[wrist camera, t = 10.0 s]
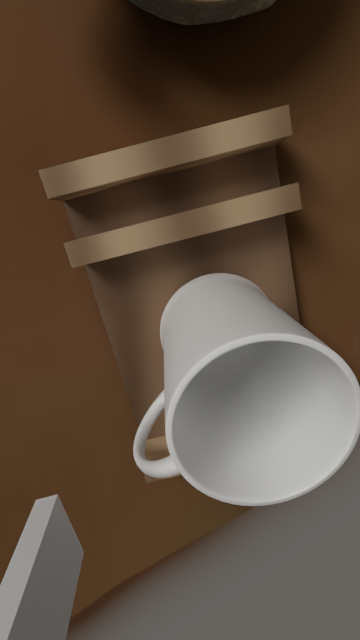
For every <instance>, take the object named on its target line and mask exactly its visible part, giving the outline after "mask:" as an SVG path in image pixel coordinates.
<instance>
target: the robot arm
mask: <svg viewBox="0 0 360 640" xmlns="http://www.w3.org/2000/svg"><path fill="white" fill-rule="evenodd" d="M83 554H84V551H83V549H82V547H81V545H80V542H79V540H78V538H77V536H76V534H75V531H74V529H73V527H72V525H71V523H70V520H69V518H68V516H67V514H66V512H65V509H64V507H63V505H62V503H61V501H60V499H59V496H58V494H57V495H54V496H50V497H46V498H42V499H38V500H36V501H35V504H34V506H33V508H32V511H31V513H30V516H29V518H28V520H27V523H26V525H25V528H24V530H23V532H22V535H21V537H20V540H19V542H18V544H17V547H16V549H15V552H14V554H13V556H12V559H11V561H10V564H9V566H8V568H7V571H6V573H5V575H4V578H3V580H2V583H1V585H0V640H65V639H66V634H67V630H68V625H69V620H70V616H71V611H72V606H73V601H74V597H75V592H76V587H77V582H78V578H79V573H80V568H81V563H82V558H83Z"/></svg>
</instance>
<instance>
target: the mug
mask: <svg viewBox="0 0 360 640" xmlns="http://www.w3.org/2000/svg"><path fill="white" fill-rule="evenodd" d="M160 339H161V344H162V348H163V350H164V390H163V391H162V392H161V393H160V395H159V396H158V397H157V398H156V400H155V401H154V402H153V403H152V405H151V406H150V408H149V409H148V411H147V412H146V414H145V416H144V417H143V419H142V421H141V423H140V425H139V428H138V430H137V433H136V436H135V440H134V446H133V454H134V459H135V462H136V464H137V466H138V467H139V468H140V470H141V471H142V472H144V473H145V474H146V475H148V476H151V477H154V478H167V477H171V476H175V475H178V474H180V473H181V474H182V476H183V477H184V478H185V479H186V480H187V481H188V482H189V483H190V484H191V485H192V486H194V487H195V488H196V489H198V490H199V491H201V492H202V493H204V494H206V495H208V496H210V497H212V498H214V499H217V500H220V501H223V502H226V503H230V504H235V505H243V506H263V505H272V504H277V503H282V502H285V501H289V500H292V499H294V498H297V497H299V496H301V495H304V494H306V493H308V492H310V491H311V490H313V489H315V488H317V487H318V486H319V485H321V484H322V483H324V482H325V481H326V480H328V479H329V478H330V477H331V476H332V475H333V474H334V473H335V472H336V471H337V470H338V469H339V468H340V467H341V466H342V465H343V463H344V462H345V461H346V460H347V458H348V457H349V455H350V454H351V452H352V450H353V448H354V447H355V444H356V442H357V440H358V437H359V434H360V386H359V384H358V381H357V379H356V377H355V375H354V373H353V372H352V370H351V369H350V367H349V366H348V365H347V363H346V362H345V361H344V360H343V359H342V358H341V357H340V356H339V355H338V354H337V353H336V352H334V351H333V350H332V349H331V348H329V347H328V346H327V345H326V344H324V343H323V342H322V341H321V340H319V339H318V338H317V337H316V336H314V335H313V334H312V333H311V332H309V331H308V330H307V329H305V328H304V327H303V326H302V325H300V324H299V323H298V322H297V321H295V320H294V319H293V318H292V317H290V316H289V315H288V314H286V313H285V312H284V311H283V310H281V309H280V308H279V307H278V306H276V305H275V304H274V303H273V302H271V301H270V300H269V299H268V297H267V296H266V294H265V293H264V292H263V291H262V290H261V289H260V288H259V287H258V286H257V285H256V284H254V283H253V282H251V281H250V280H248V279H246V278H244V277H241V276H238V275H234V274H229V273H212V274H207V275H203V276H200V277H197V278H195V279H193V280H191V281H189V282H188V283H186V284H185V285H183V286H182V287H181V288H180V289H179V290H177V291H176V293H175V294H174V295H173V296H172V297H171V299H170V300H169V302H168V303H167V305H166V307H165V309H164V312H163V314H162V318H161V323H160ZM164 408H165V434H166V442H167V446H168V450H169V453H170V456H168V457H166V458H163V459H160V460H156V461H149V460H147V459H146V457H145V446H146V441H147V438H148V435H149V433H150V431H151V428H152V426H153V425H154V423H155V421H156V419H157V418H158V416H159V415H160V413H161V412H162V411H163V409H164Z"/></svg>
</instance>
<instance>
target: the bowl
mask: <svg viewBox="0 0 360 640" xmlns="http://www.w3.org/2000/svg"><path fill="white" fill-rule="evenodd" d="M128 1H130V2H131V3H133V4H134V5H136V6H137V7H139V8H140V9H142V10H144V11H147V12H149V13H151V14H153V15H155V16H157V17H159V18H162V19H164V20H168V21H171V22H175V23H178V24H183V25H200V24H209V23H217V22H222V21H227V20H233V19H236V18H239V17H242V16H245V15H249V14H252V13H256V12H259V11H262V10H264V9H266V8H269V7H270V6H271V5H272V4H273V3H274V2H275V1H276V0H128Z"/></svg>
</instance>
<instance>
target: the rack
mask: <svg viewBox="0 0 360 640" xmlns="http://www.w3.org/2000/svg"><path fill="white" fill-rule="evenodd" d="M291 135H292V127H291V119H290V111H289V104H288V105H285V106H281V107H277V108H273V109H269V110H266V111H262V112H258V113H254V114H251V115H247V116H243V117H239V118H235V119H232V120H228V121H224V122H220V123H216V124H213V125H209V126H205V127H201V128H197V129H194V130H190V131H186V132H182V133H178V134H175V135H171V136H167V137H163V138H159V139H156V140H152V141H148V142H144V143H140V144H137V145H133V146H129V147H125V148H121V149H118V150H114V151H110V152H106V153H103V154H99V155H95V156H91V157H87V158H84V159H80V160H76V161H72V162H68V163H65V164H61V165H57V166H53V167H49V168H46V169H42V170H38V171H39V174H40V177H41V180H42V183H43V186H44V189H45V191H46V194H47V197H48V199H53V200H59V201H63V203H64V206H65V209H66V212H67V215H68V218H69V221H70V224H71V227H72V230H73V233H74V236H75V239H76V240H73V241H69V242H66V243H64V246H65V249H66V252H67V255H68V258H69V261H70V263H71V266H72V268H75V267H79V266H83V265H84V266H85V269H86V272H87V274H88V277H89V280H90V283H91V286H92V289H93V292H94V295H95V298H96V301H97V304H98V307H99V310H100V313H101V316H102V319H103V322H104V325H105V328H106V331H107V334H108V337H109V340H110V343H111V346H112V349H113V352H114V355H115V358H116V361H117V364H118V367H119V370H120V373H121V376H122V379H123V382H124V385H125V388H126V391H127V394H128V397H129V400H130V403H131V406H132V409H133V412H134V415H135V418H136V421H137V424H138V427H139V425H140V423H141V421H142V419H143V417H144V416H145V414H146V412H147V411H148V409H149V408H150V406H151V405H152V403H153V402H154V401H155V400H156V398H157V397H158V396H159V395H160V393H161V392H162V391H163V390H164V350H163V348H162V344H161V339H160V323H161V318H162V314H163V312H164V309H165V307H166V305H167V303H168V302H169V300H170V299H171V297H172V296H173V295H174V294H175V293H176V291H177V290H179V289H180V288H181V287H182V286H183V285H185V284H186V283H188V282H189V281H191V280H193V279H195V278H197V277H200V276H203V275H207V274H212V273H229V274H234V275H238V276H241V277H244V278H246V279H248V280H250V281H251V282H253V283H254V284H256V285H257V286H258V287H259V288H260V289H261V290H262V291H263V292H264V293H265V294H266V296H267V297H268V299H269V300H270V301H271V302H273V303H274V304H275V305H276V306H278V307H279V308H280V309H281V310H283V311H284V312H285V313H286V314H288V315H289V316H290V317H292V318H293V319H294V320H295V321H297V322H298V323H299V324H300V320H299V313H298V306H297V298H296V291H295V284H294V277H293V270H292V263H291V256H290V249H289V242H288V235H287V228H286V221H285V213H289V212H293V211H297V210H300V209H302V206H301V198H300V190H299V182H298V183H294V184H290V185H285V186H280V179H279V172H278V165H277V158H276V151H275V145H277V144H278V143H280V142H282V141H283V140H285V139H287V138H288V137H290V136H291ZM168 456H170V453H169V450H168V446H167V442H166V434H165V408H164V409H163V411H162V412H161V413H160V415H159V416H158V418H157V419H156V421H155V423H154V425H153V426H152V428H151V431H150V433H149V435H148V438H147V441H146V446H145V457H146V459H147V460H149V461H156V460H160V459H163V458H166V457H168ZM143 474H144V477H145V480H146V483H150V482H154V481H158V480H162V479H166V478H154V477H151V476H148V475H146V474H145V473H144V472H143ZM179 475H182V474H181V473H180V474H178V475H175V476H179ZM175 476H171V477H175ZM167 478H170V477H167Z"/></svg>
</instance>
